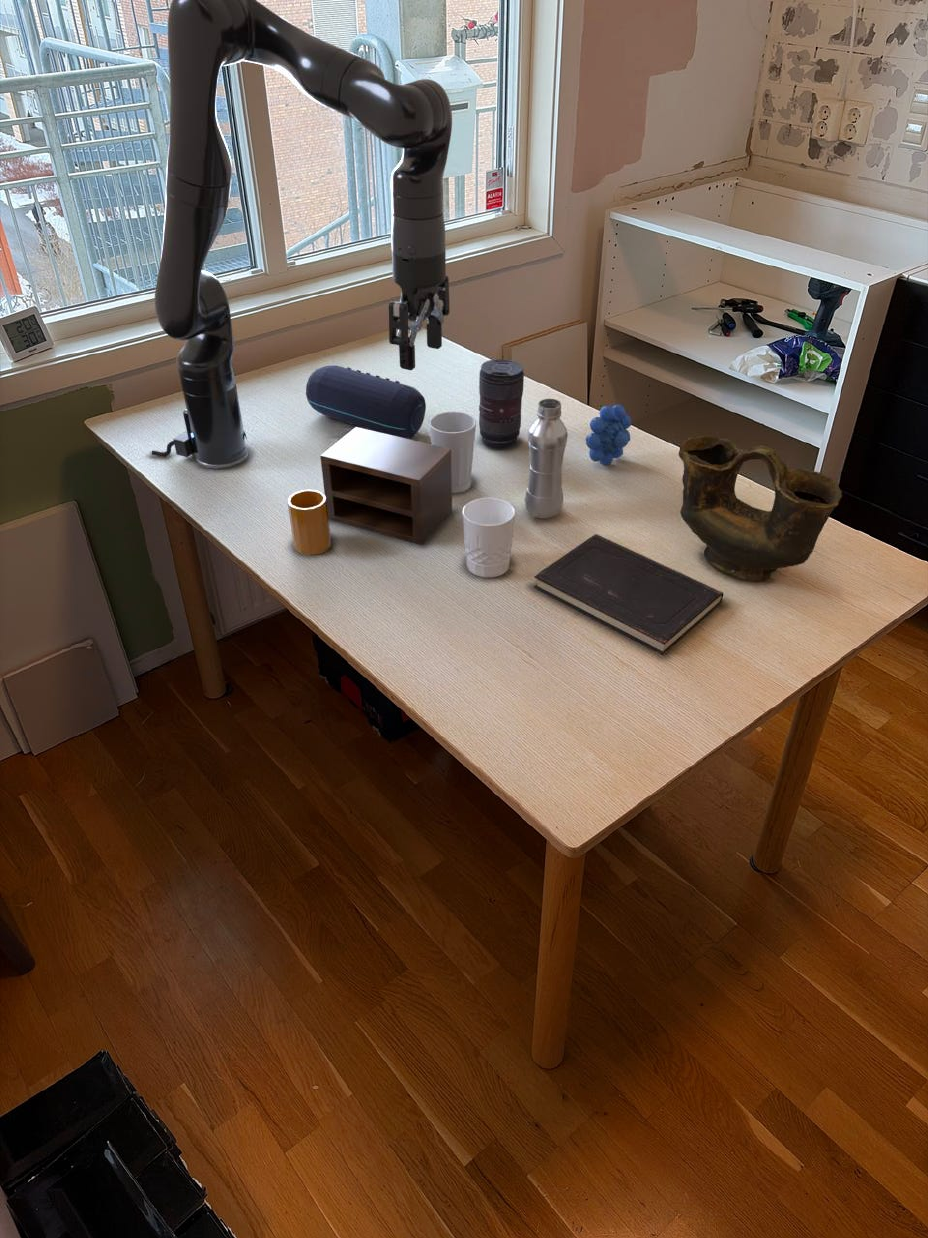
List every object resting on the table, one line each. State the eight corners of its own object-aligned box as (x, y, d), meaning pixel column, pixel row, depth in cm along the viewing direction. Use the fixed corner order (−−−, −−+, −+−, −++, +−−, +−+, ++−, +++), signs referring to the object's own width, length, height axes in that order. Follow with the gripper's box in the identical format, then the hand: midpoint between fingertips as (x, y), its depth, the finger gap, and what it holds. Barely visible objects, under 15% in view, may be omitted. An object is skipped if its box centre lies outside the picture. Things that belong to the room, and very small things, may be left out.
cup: (471, 497, 160) (471, 435, 153) (426, 492, 162) (424, 430, 154) (479, 474, 166) (480, 413, 159) (436, 470, 168) (435, 409, 160)
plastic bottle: (567, 507, 158) (576, 398, 145) (554, 527, 153) (561, 416, 140) (532, 498, 160) (538, 391, 147) (518, 518, 155) (522, 408, 142)
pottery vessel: (651, 546, 148) (667, 435, 136) (686, 519, 155) (705, 410, 142) (797, 610, 136) (830, 493, 123) (828, 576, 142) (863, 462, 129)
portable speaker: (436, 430, 180) (434, 382, 173) (406, 451, 173) (404, 402, 167) (334, 400, 190) (330, 353, 184) (303, 418, 184) (297, 371, 177)
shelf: (327, 518, 155) (319, 455, 148) (360, 488, 163) (355, 426, 155) (421, 545, 149) (419, 480, 141) (452, 512, 157) (451, 448, 149)
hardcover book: (662, 655, 128) (664, 642, 126) (533, 588, 140) (534, 575, 138) (722, 603, 137) (724, 590, 135) (596, 543, 149) (597, 532, 148)
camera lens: (521, 451, 173) (524, 376, 164) (478, 451, 173) (479, 375, 164) (520, 431, 179) (523, 357, 170) (478, 430, 179) (479, 357, 170)
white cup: (477, 585, 140) (478, 530, 134) (454, 559, 146) (453, 505, 140) (522, 571, 143) (524, 517, 137) (497, 546, 149) (499, 492, 142)
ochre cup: (286, 549, 148) (280, 504, 143) (307, 530, 152) (301, 486, 147) (317, 558, 146) (312, 513, 141) (338, 539, 150) (333, 494, 145)
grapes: (603, 484, 164) (609, 422, 156) (574, 470, 167) (579, 409, 160) (644, 461, 170) (652, 401, 162) (615, 448, 174) (622, 389, 166)
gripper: (418, 228, 134) (421, 336, 145) (369, 257, 125) (375, 371, 135) (465, 236, 132) (464, 345, 142) (418, 265, 122) (420, 381, 132)
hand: (421, 357), depth 138 cm, fingers open, 8 cm apart
